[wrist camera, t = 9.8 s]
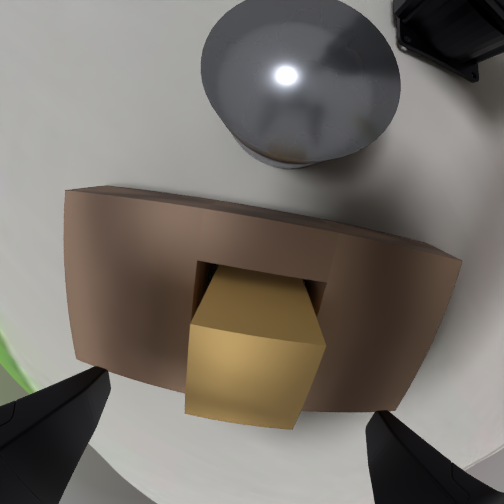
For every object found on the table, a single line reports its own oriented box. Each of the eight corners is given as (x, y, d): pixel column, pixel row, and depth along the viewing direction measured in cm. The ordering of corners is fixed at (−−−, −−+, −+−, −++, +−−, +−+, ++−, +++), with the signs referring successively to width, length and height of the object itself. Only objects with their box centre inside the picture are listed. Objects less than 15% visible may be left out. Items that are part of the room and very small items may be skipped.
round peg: (350, 75, 13) (401, 20, 6) (335, 179, 15) (389, 182, 8) (239, 53, 13) (223, -18, 6) (218, 157, 15) (182, 142, 8)
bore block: (425, 243, 15) (462, 261, 11) (377, 374, 18) (395, 410, 14) (104, 185, 15) (65, 190, 11) (104, 329, 18) (76, 359, 14)
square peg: (298, 266, 16) (326, 345, 8) (282, 330, 17) (292, 429, 9) (224, 253, 16) (190, 323, 8) (215, 318, 17) (184, 413, 9)
